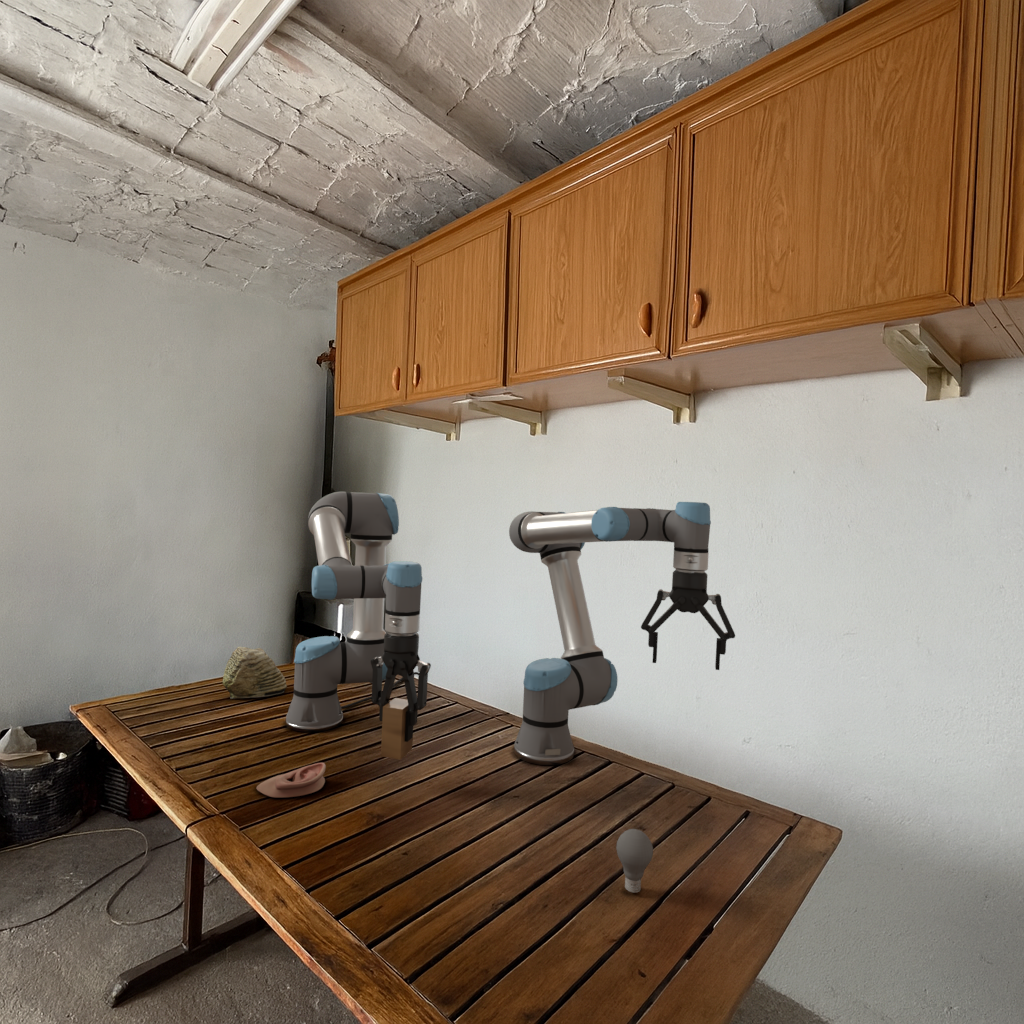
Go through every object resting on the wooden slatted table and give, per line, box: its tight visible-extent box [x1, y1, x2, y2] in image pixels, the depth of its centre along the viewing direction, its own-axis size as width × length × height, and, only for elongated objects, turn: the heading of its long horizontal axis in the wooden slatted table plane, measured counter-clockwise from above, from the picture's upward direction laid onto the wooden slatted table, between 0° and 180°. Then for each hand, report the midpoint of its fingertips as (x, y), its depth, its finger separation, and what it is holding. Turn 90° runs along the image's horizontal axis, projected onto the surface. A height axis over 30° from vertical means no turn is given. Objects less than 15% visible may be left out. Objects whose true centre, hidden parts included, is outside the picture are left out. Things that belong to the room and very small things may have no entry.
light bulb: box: [615, 828, 654, 894], centre depth 106 cm, size 6×6×10 cm
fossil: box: [222, 646, 288, 699], centre depth 198 cm, size 9×18×15 cm, turn 132°
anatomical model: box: [256, 762, 327, 799], centre depth 137 cm, size 13×4×12 cm
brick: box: [380, 697, 414, 760], centre depth 139 cm, size 6×5×11 cm
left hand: (397, 737), depth 139 cm, fingers closed on brick, 5 cm apart
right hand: (685, 665), depth 142 cm, fingers open, 13 cm apart
